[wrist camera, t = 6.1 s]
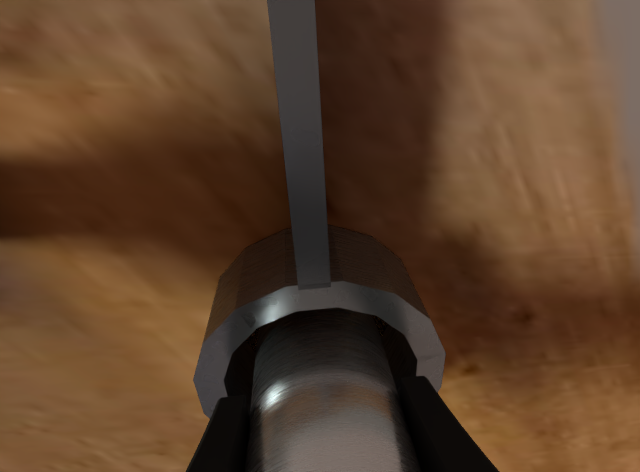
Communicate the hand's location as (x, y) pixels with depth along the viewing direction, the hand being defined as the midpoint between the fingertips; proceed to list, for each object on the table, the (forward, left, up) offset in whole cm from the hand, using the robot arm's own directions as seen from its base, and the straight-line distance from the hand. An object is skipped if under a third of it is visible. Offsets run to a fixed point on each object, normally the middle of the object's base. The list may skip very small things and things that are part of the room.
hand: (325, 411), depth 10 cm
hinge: (0, 0, -4) cm, 4 cm away
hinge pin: (0, 0, -3) cm, 3 cm away
